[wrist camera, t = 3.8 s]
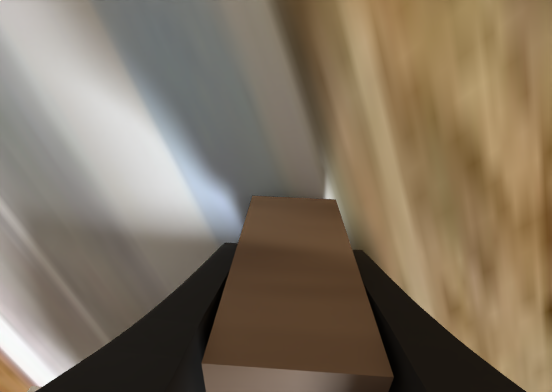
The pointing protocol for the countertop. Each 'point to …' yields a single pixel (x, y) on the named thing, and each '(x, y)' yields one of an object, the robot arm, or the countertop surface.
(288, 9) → the countertop surface
